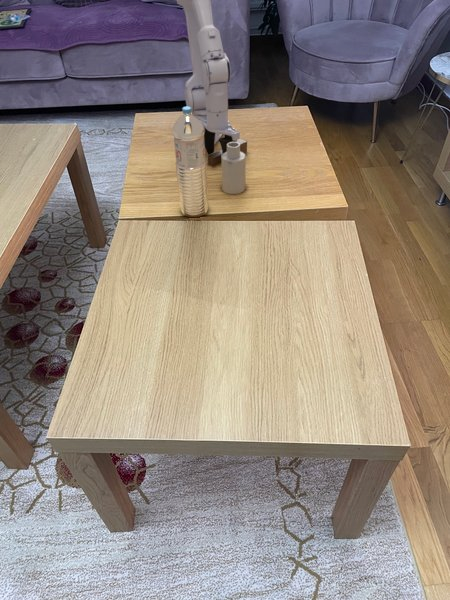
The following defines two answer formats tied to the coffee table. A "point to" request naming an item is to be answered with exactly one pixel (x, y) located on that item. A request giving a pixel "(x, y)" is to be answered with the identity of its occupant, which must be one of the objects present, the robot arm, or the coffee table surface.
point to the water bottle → (191, 164)
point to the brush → (216, 157)
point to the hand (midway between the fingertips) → (218, 157)
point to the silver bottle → (233, 169)
